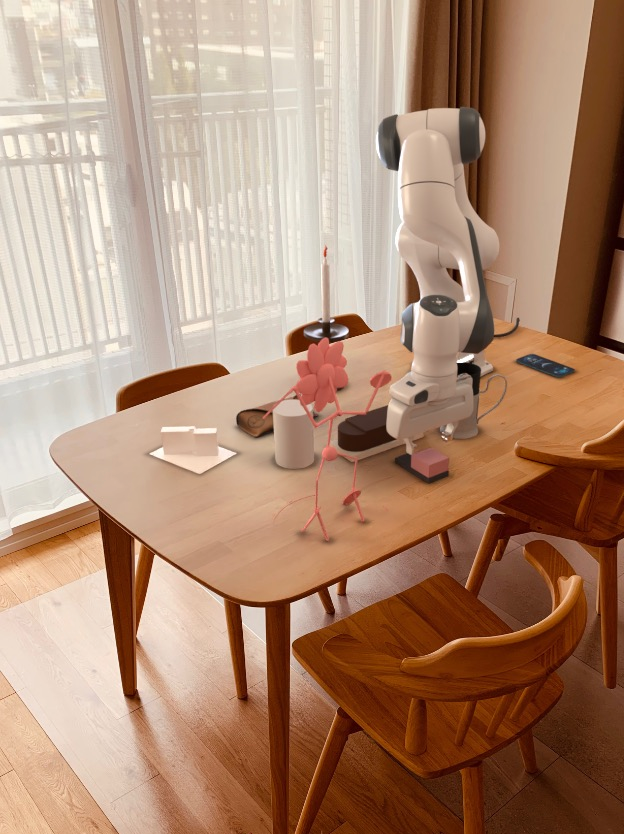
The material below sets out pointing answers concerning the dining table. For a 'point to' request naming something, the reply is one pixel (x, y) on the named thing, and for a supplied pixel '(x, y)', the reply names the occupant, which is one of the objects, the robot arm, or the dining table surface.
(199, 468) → the napkin holder
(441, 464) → the two-tone stepped block
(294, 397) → the sunglasses case
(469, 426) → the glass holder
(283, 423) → the cup
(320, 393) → the figurine
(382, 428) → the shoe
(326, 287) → the candlestick
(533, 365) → the smartphone
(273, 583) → the dining table surface
